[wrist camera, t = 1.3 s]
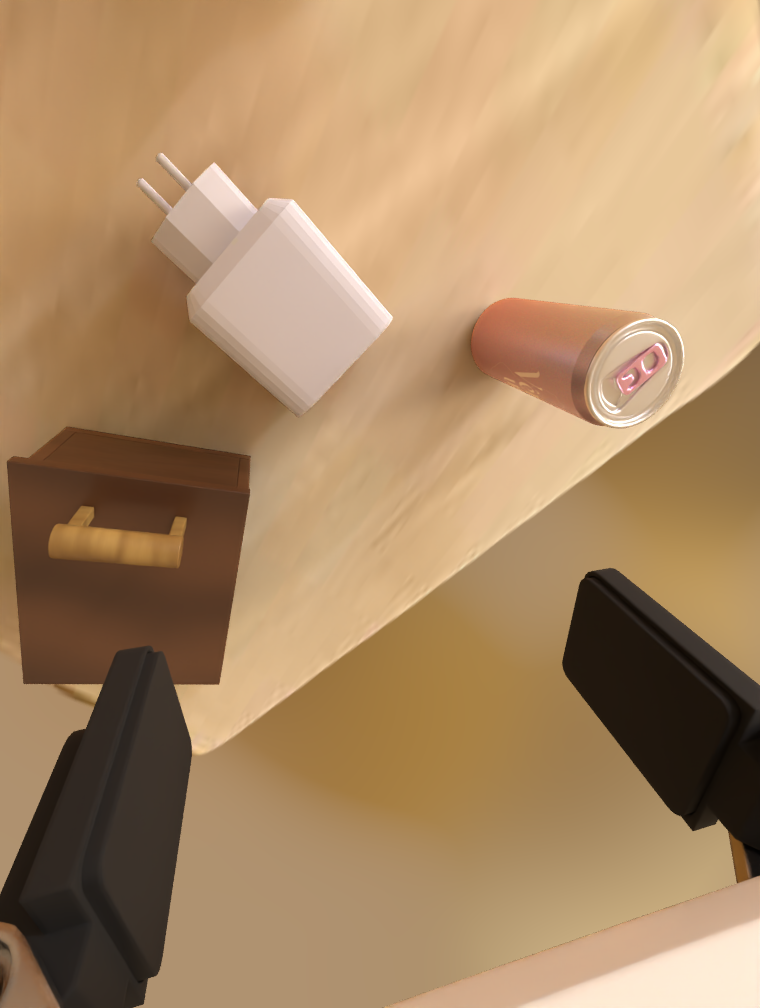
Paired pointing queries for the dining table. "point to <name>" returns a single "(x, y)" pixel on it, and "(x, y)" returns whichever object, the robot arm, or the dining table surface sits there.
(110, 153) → the dining table surface
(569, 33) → the dining table surface
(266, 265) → the charger
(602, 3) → the dining table surface
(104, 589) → the lid
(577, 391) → the beverage can
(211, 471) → the box
